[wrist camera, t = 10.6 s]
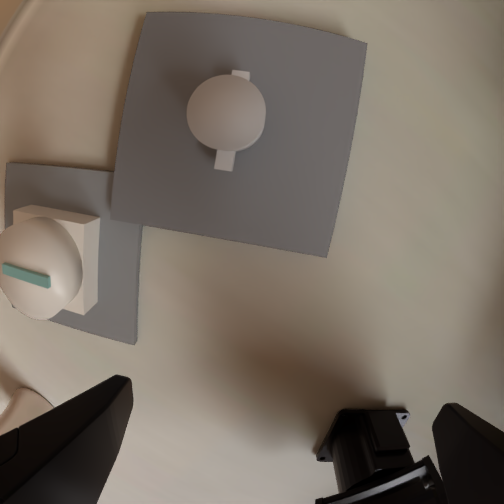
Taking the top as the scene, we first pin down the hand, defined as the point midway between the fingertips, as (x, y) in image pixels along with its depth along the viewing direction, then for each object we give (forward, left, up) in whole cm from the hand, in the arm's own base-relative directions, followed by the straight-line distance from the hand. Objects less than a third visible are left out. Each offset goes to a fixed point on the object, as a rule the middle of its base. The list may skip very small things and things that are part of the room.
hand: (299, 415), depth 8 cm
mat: (-1, +14, -12) cm, 18 cm away
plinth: (+7, +4, -12) cm, 14 cm away
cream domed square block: (-1, +14, -11) cm, 18 cm away
